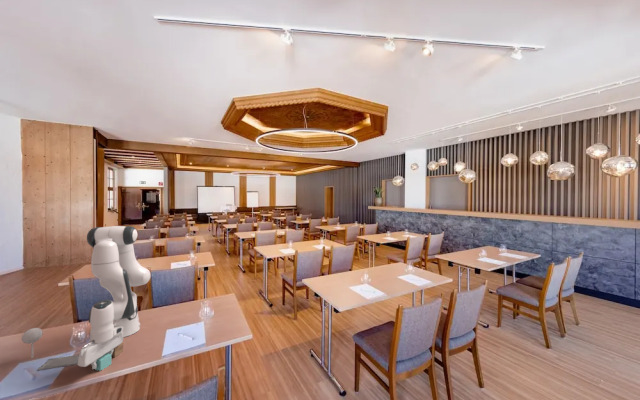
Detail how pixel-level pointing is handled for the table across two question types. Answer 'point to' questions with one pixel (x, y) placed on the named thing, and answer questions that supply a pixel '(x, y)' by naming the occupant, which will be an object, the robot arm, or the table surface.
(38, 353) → the table surface
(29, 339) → the lollipop
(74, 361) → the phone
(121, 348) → the walnut cube
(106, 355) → the teal cube
